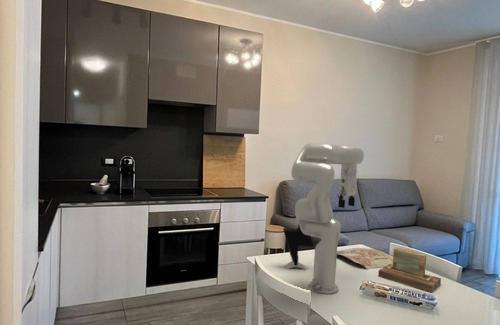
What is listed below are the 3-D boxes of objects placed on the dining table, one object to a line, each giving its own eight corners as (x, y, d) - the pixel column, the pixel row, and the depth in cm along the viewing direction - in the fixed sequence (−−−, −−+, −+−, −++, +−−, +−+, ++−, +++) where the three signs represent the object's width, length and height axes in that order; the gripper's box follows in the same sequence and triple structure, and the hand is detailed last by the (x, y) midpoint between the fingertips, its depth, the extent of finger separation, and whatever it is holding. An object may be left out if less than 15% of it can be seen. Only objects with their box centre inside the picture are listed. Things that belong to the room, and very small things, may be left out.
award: (309, 266, 174) (313, 209, 173) (312, 269, 169) (315, 211, 167) (281, 265, 174) (284, 208, 172) (282, 268, 168) (285, 210, 167)
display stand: (431, 292, 148) (431, 284, 148) (378, 276, 165) (378, 268, 164) (440, 284, 158) (441, 276, 158) (389, 269, 174) (390, 262, 174)
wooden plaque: (422, 279, 155) (424, 256, 155) (392, 270, 165) (393, 248, 164) (424, 277, 158) (426, 254, 157) (394, 268, 167) (396, 247, 167)
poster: (359, 277, 171) (404, 270, 182) (360, 265, 170) (405, 259, 181) (328, 255, 197) (368, 250, 208) (328, 245, 196) (369, 241, 207)
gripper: (346, 173, 159) (344, 209, 159) (363, 173, 171) (361, 206, 171) (332, 172, 164) (330, 206, 165) (350, 172, 176) (348, 204, 177)
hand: (346, 206), depth 168 cm, fingers open, 9 cm apart
